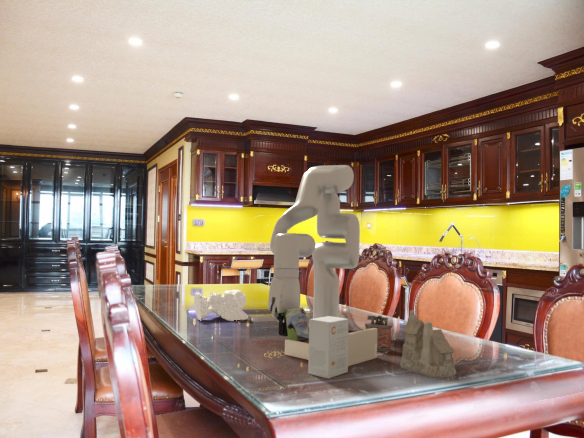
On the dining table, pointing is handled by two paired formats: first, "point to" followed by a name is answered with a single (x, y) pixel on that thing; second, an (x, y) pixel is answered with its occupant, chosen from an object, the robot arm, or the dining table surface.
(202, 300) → the cherub figurine
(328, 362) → the small box
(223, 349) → the dining table surface
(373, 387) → the dining table surface
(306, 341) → the beverage can
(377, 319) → the lighter
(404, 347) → the ceramic cottage
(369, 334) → the box
